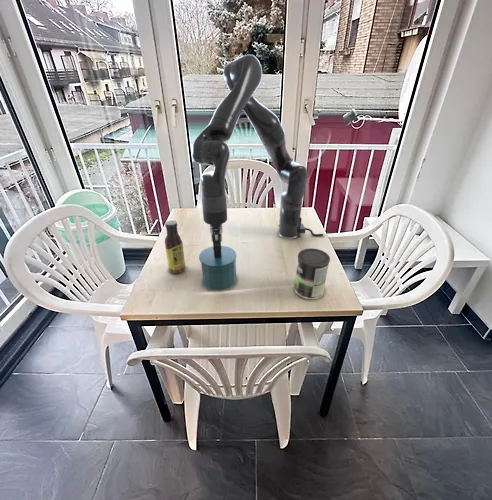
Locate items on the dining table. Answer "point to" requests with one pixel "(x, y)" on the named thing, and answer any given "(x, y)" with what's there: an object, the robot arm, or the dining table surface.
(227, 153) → the robot arm
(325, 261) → the coffee can
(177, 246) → the sauce bottle
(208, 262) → the pot lid
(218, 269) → the pot
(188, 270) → the dining table surface
